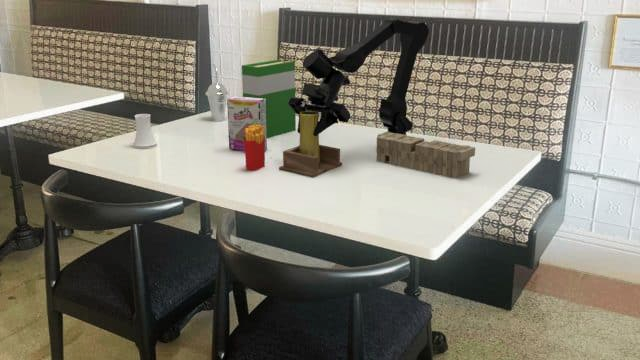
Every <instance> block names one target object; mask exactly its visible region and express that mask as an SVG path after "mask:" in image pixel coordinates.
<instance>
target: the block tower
mask: <svg viewBox="0 0 640 360" xmlns="http://www.w3.org/2000/svg"><path fill="white" fill-rule="evenodd" d="M475 154H476V147H475V146H470V145H463V144H461V145H460V144H457V143H451V142H447V141H440V140H435V139H434V140H431V141H426V140H425V138H423V137H416V136H412V135H407V134H406V135H403V134H397V133H391V132H388V131H385V132H382V133H380V134H379V133H378V134H377V137H376V162H379V163H382V164H386V163H389V165H391V166H395V167H397V166H398V167H401V168H403V169H404V168H405V169H410V170H414V171H420V172H423V173H428V174H432V175H436V176H440V175H441V177H447V178H450V179H454V178H455V179H454V180H456V179H458V178H461V177H463V176H465V175H467V174H469V173H470V165H471V163H470V161H471V160H470V159H471V158H472V157H475Z"/></svg>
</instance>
